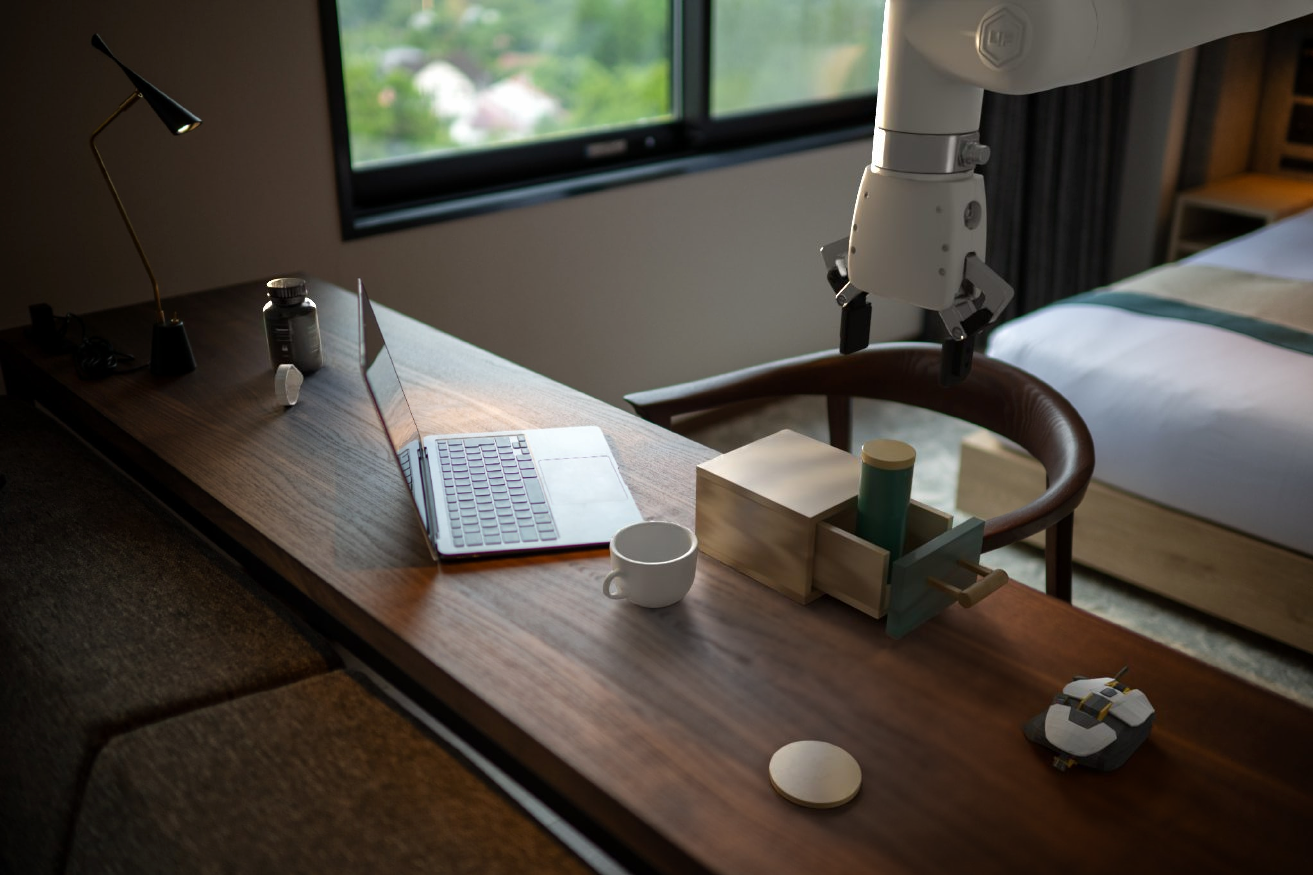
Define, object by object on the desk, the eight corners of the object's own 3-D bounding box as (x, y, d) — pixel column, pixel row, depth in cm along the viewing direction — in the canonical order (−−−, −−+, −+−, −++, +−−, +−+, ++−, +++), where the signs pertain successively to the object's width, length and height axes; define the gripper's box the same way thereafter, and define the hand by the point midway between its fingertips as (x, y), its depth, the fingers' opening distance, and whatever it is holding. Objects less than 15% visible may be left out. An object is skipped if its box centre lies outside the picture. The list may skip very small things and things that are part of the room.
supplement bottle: (261, 373, 148) (248, 287, 143) (289, 357, 154) (278, 273, 149) (306, 379, 146) (294, 292, 141) (333, 362, 152) (322, 277, 147)
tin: (892, 557, 100) (905, 437, 95) (909, 583, 96) (923, 459, 91) (845, 560, 100) (855, 440, 95) (859, 587, 96) (871, 462, 91)
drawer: (1021, 610, 94) (1033, 540, 92) (943, 664, 87) (953, 590, 84) (861, 537, 106) (867, 473, 103) (781, 580, 99) (785, 512, 96)
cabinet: (891, 556, 104) (900, 473, 101) (804, 606, 97) (810, 517, 93) (782, 506, 114) (787, 428, 110) (694, 547, 106) (696, 465, 102)
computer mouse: (1182, 704, 84) (1193, 661, 83) (1096, 801, 75) (1106, 754, 73) (1089, 663, 89) (1098, 622, 87) (997, 749, 79) (1004, 704, 78)
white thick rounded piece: (306, 396, 141) (301, 359, 139) (294, 411, 136) (289, 373, 134) (283, 396, 141) (278, 359, 139) (271, 411, 136) (265, 373, 134)
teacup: (652, 562, 103) (653, 512, 101) (714, 593, 98) (716, 540, 96) (574, 605, 97) (572, 551, 94) (636, 640, 92) (636, 584, 90)
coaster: (846, 742, 80) (846, 736, 80) (873, 804, 74) (873, 798, 74) (760, 749, 79) (760, 744, 79) (780, 812, 74) (781, 807, 73)
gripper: (1055, 162, 79) (1021, 384, 86) (862, 133, 90) (846, 331, 97) (998, 176, 74) (967, 409, 81) (802, 143, 86) (790, 350, 93)
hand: (901, 366), depth 89 cm, fingers open, 9 cm apart
